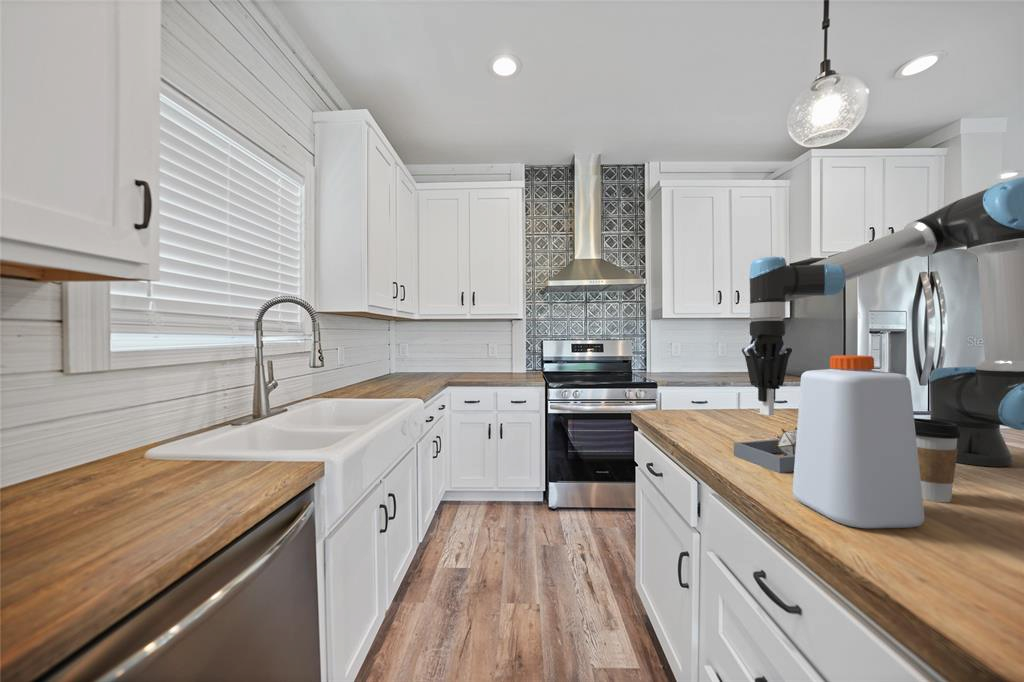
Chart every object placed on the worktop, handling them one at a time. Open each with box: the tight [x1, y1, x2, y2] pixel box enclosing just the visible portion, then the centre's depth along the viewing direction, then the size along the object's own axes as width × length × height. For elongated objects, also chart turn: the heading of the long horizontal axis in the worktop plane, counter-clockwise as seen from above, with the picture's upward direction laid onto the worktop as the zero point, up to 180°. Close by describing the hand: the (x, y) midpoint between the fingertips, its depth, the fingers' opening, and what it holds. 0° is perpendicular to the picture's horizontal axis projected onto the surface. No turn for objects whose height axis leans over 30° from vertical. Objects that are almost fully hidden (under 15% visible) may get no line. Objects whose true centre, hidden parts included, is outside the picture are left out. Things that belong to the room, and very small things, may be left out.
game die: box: [774, 426, 797, 456], centre depth 101 cm, size 9×8×10 cm
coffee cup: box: [914, 417, 960, 503], centre depth 77 cm, size 8×8×15 cm
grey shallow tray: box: [733, 438, 795, 474], centre depth 100 cm, size 18×14×4 cm
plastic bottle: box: [792, 354, 926, 529], centre depth 71 cm, size 15×15×28 cm
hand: (766, 414), depth 99 cm, fingers closed
